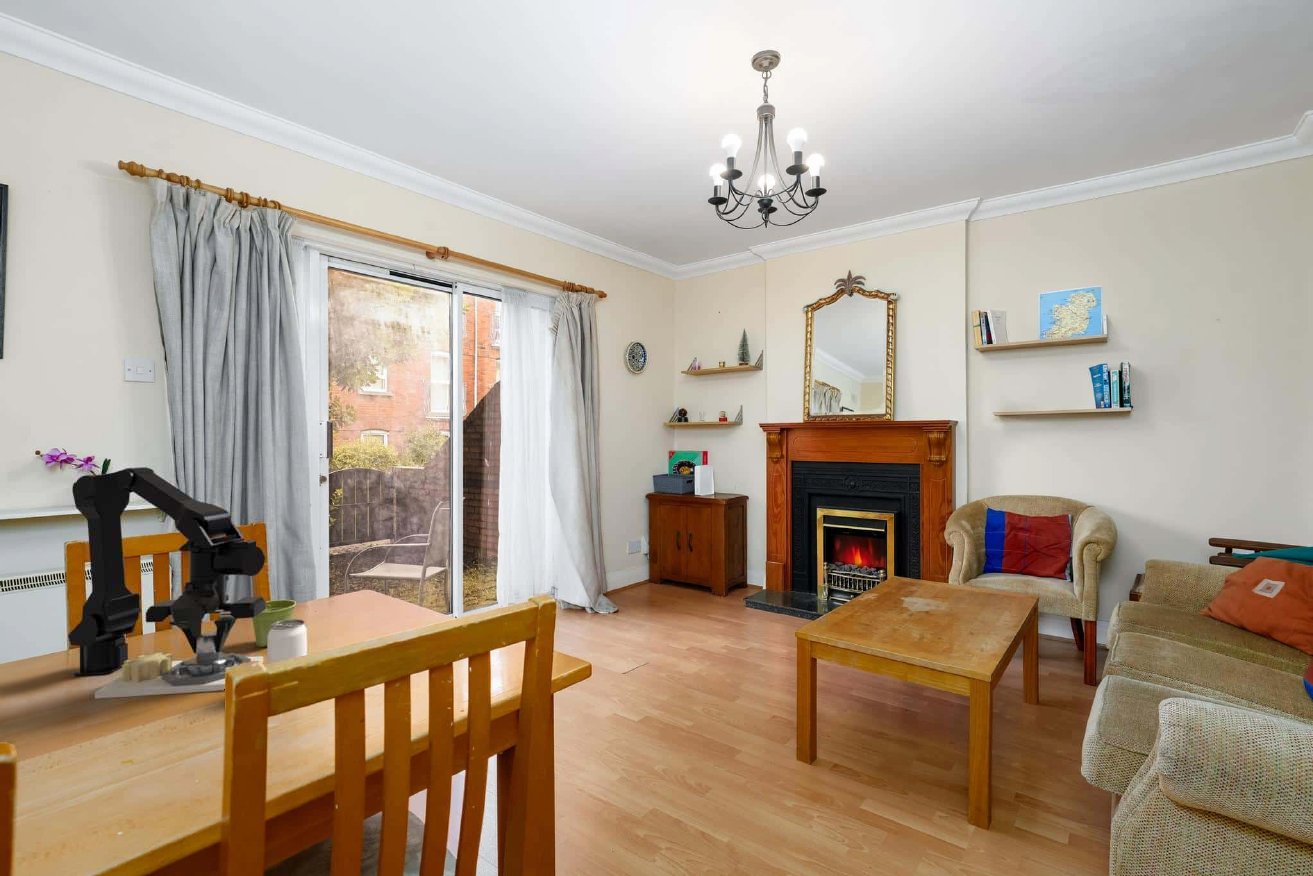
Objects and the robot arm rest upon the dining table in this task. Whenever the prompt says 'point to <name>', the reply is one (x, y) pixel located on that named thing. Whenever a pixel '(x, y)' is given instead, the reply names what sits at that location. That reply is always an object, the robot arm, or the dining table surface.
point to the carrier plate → (163, 677)
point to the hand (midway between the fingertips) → (207, 652)
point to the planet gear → (206, 657)
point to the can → (286, 640)
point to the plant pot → (271, 618)
